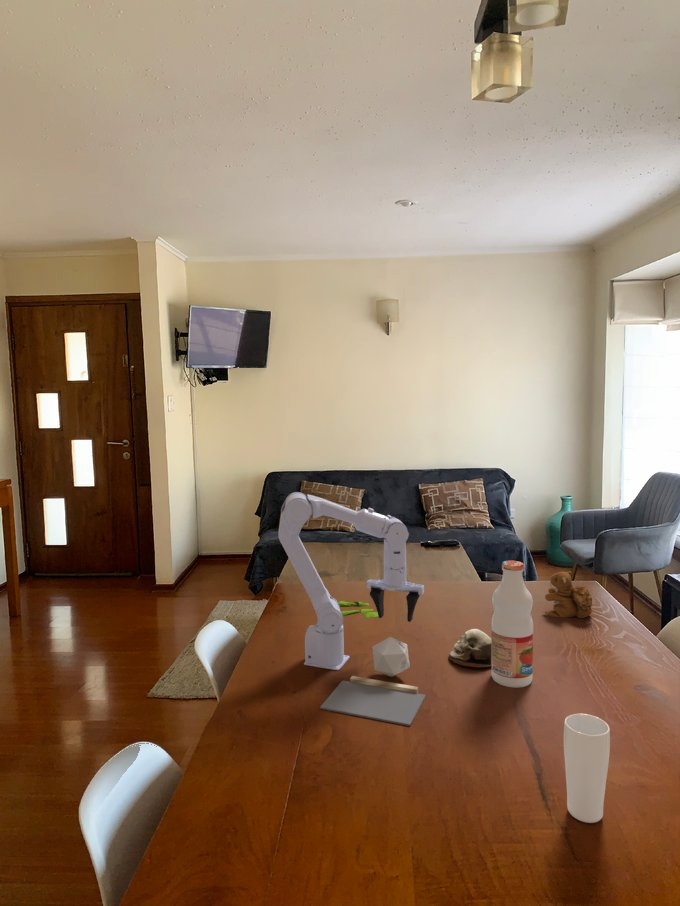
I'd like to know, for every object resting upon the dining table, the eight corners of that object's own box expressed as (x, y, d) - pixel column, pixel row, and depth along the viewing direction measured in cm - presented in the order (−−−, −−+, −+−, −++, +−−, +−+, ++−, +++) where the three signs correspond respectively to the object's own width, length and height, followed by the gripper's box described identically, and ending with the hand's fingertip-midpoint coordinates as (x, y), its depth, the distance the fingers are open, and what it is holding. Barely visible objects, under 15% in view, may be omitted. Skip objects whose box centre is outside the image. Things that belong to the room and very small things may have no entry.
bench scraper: (320, 708, 131) (320, 707, 131) (342, 682, 143) (342, 680, 143) (410, 726, 123) (410, 724, 123) (425, 696, 135) (425, 694, 135)
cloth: (386, 623, 180) (386, 615, 180) (312, 624, 181) (312, 616, 181) (382, 600, 201) (382, 593, 201) (316, 601, 201) (316, 593, 201)
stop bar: (350, 683, 142) (350, 678, 142) (352, 680, 143) (352, 675, 143) (416, 694, 136) (416, 689, 136) (418, 692, 137) (418, 686, 137)
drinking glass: (555, 800, 100) (556, 714, 99) (594, 797, 101) (596, 711, 99) (574, 829, 93) (576, 737, 92) (616, 826, 94) (619, 734, 92)
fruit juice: (492, 668, 148) (493, 556, 146) (532, 672, 146) (534, 559, 143) (489, 685, 140) (490, 567, 137) (532, 691, 137) (534, 570, 134)
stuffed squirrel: (553, 606, 191) (553, 565, 190) (599, 616, 182) (600, 573, 180) (540, 615, 183) (541, 572, 182) (588, 626, 174) (589, 581, 173)
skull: (444, 663, 148) (446, 624, 155) (451, 680, 155) (453, 641, 162) (494, 665, 144) (494, 625, 151) (499, 682, 151) (499, 642, 158)
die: (408, 686, 140) (408, 645, 139) (369, 683, 142) (369, 642, 141) (411, 670, 148) (411, 630, 147) (375, 667, 150) (374, 628, 149)
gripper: (362, 568, 152) (363, 620, 153) (418, 573, 147) (419, 627, 148) (371, 560, 159) (372, 611, 160) (426, 565, 153) (426, 617, 154)
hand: (395, 618), depth 154 cm, fingers open, 7 cm apart
